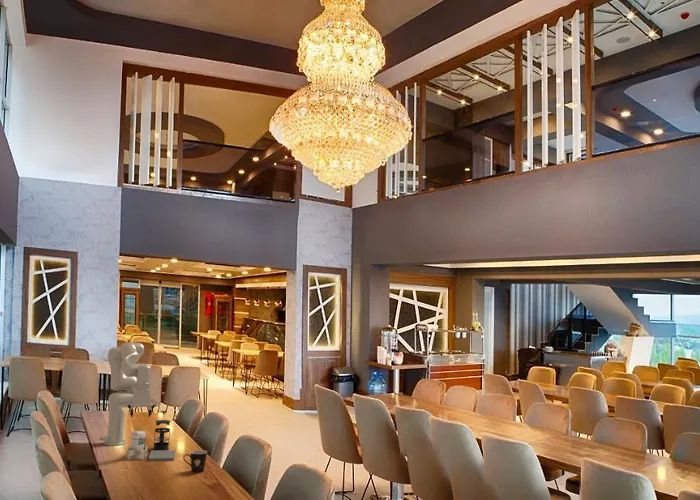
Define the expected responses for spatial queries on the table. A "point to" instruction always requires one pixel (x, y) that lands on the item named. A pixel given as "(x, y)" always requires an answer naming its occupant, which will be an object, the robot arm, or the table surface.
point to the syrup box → (138, 440)
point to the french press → (162, 435)
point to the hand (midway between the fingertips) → (140, 416)
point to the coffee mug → (197, 460)
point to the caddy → (136, 454)
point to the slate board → (162, 455)
